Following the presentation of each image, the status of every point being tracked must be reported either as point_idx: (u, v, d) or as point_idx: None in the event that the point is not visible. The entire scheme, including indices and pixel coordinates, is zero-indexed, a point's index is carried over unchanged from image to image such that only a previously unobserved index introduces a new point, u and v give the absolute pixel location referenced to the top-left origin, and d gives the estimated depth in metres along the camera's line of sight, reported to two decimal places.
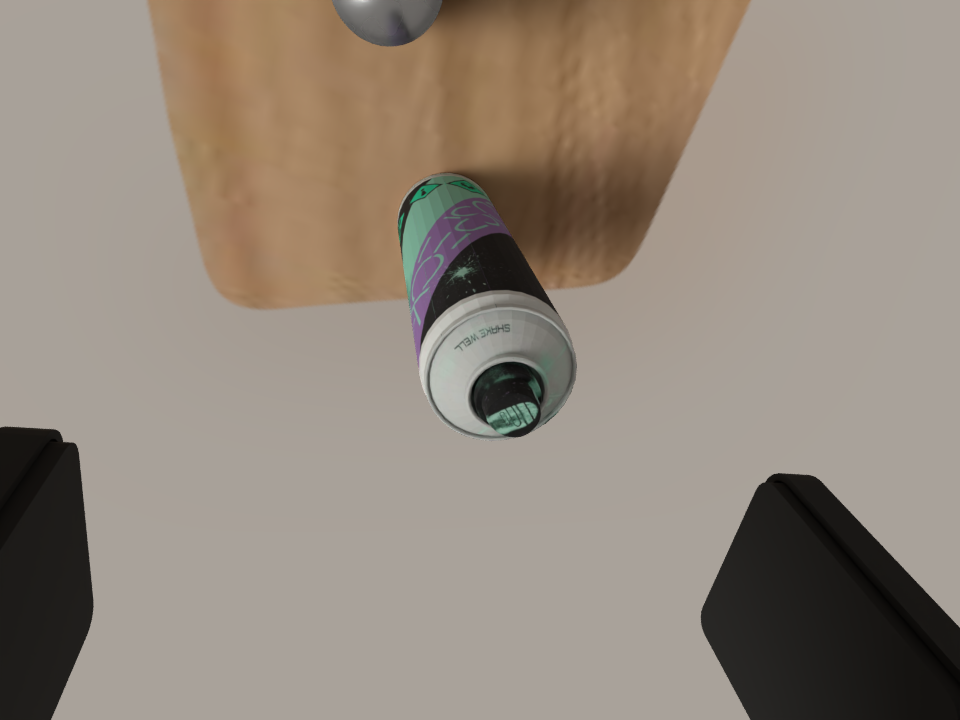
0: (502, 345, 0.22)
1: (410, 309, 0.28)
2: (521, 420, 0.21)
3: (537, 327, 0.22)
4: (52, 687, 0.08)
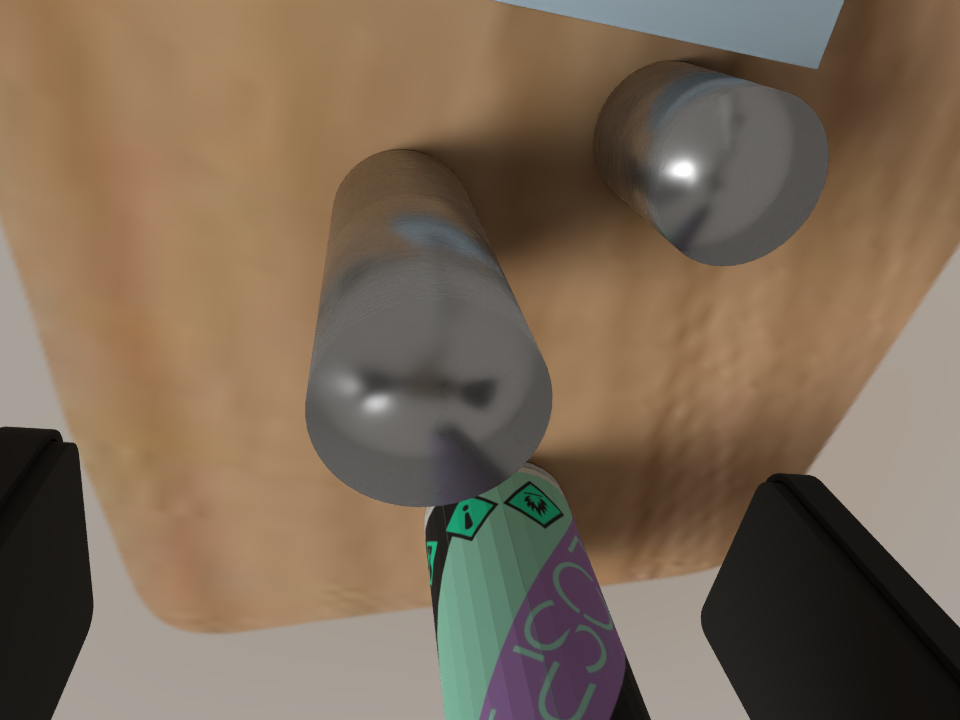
0: None
1: None
2: None
3: None
4: (52, 687, 0.08)
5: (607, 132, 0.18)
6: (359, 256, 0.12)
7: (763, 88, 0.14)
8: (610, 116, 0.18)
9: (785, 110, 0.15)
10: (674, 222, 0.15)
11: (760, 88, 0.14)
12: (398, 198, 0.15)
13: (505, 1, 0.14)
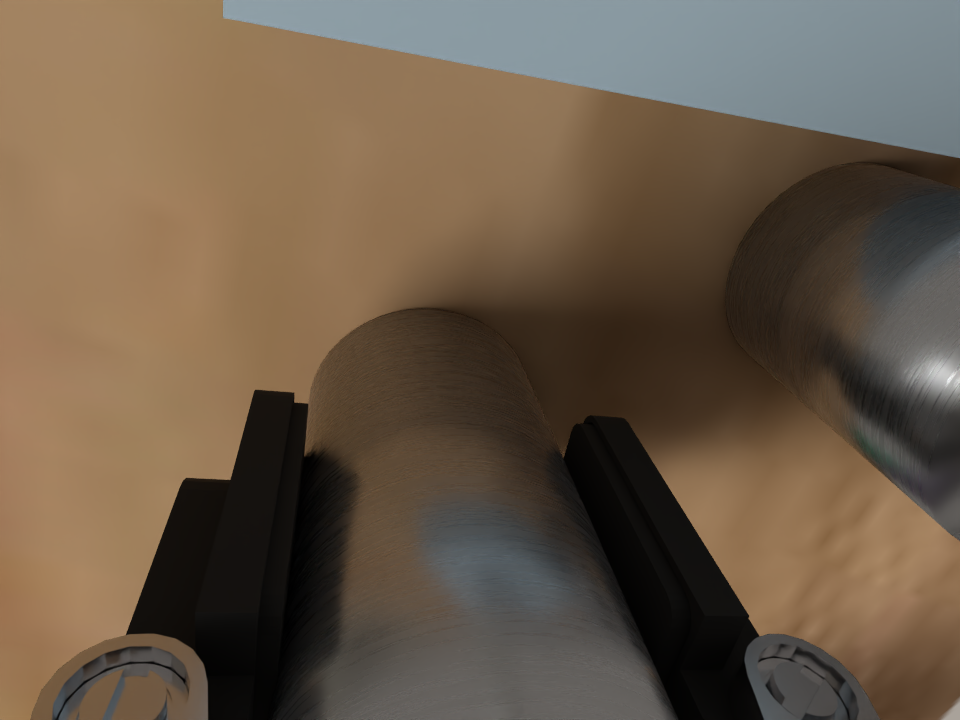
0: None
1: None
2: None
3: None
4: None
5: (765, 283, 0.11)
6: None
7: None
8: (768, 256, 0.11)
9: None
10: (953, 493, 0.08)
11: None
12: (427, 486, 0.07)
13: (637, 94, 0.07)
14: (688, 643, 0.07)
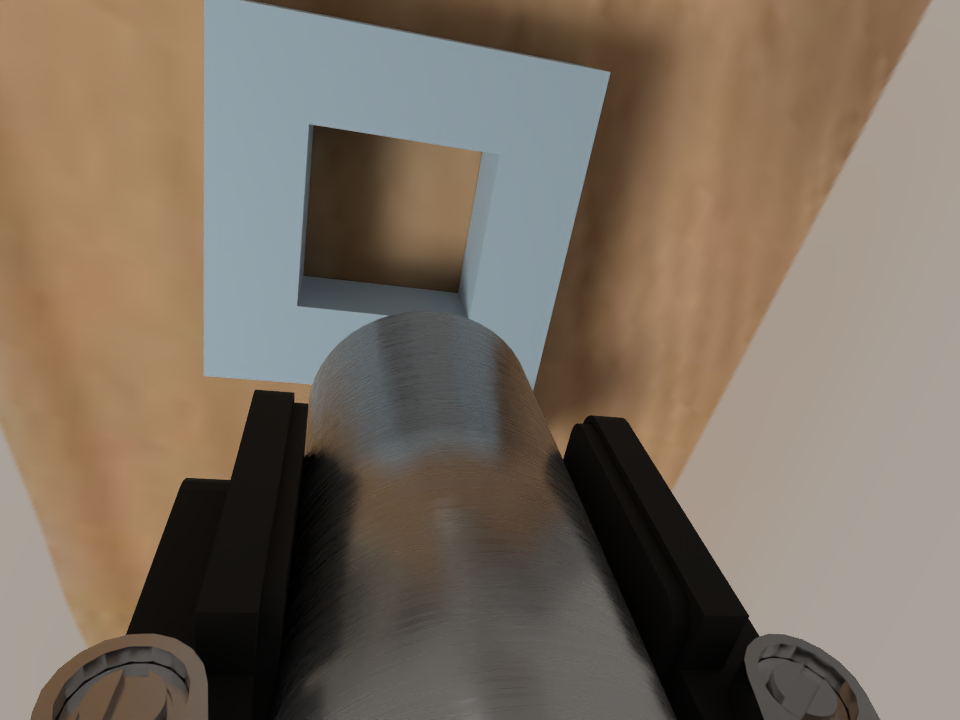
0: None
1: None
2: None
3: None
4: None
5: None
6: None
7: None
8: None
9: None
10: None
11: None
12: (427, 489, 0.07)
13: None
14: (688, 643, 0.07)
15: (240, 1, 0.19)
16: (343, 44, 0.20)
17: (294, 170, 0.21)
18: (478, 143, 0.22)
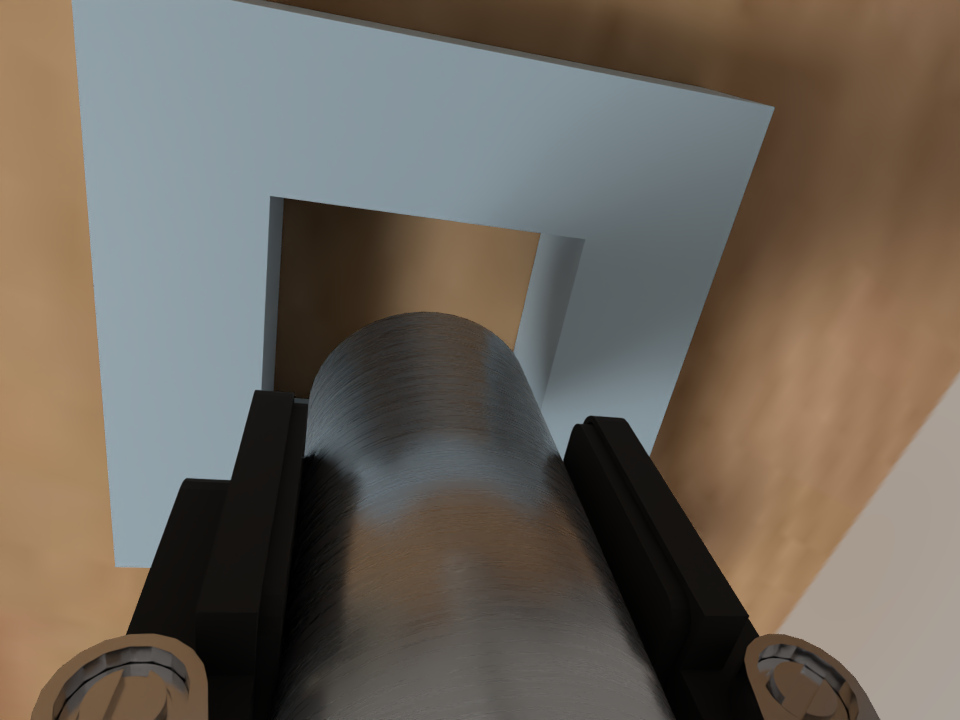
0: None
1: None
2: None
3: None
4: None
5: None
6: None
7: None
8: None
9: None
10: None
11: None
12: (428, 491, 0.07)
13: None
14: (688, 643, 0.07)
15: None
16: (327, 61, 0.11)
17: (247, 270, 0.13)
18: (551, 222, 0.13)
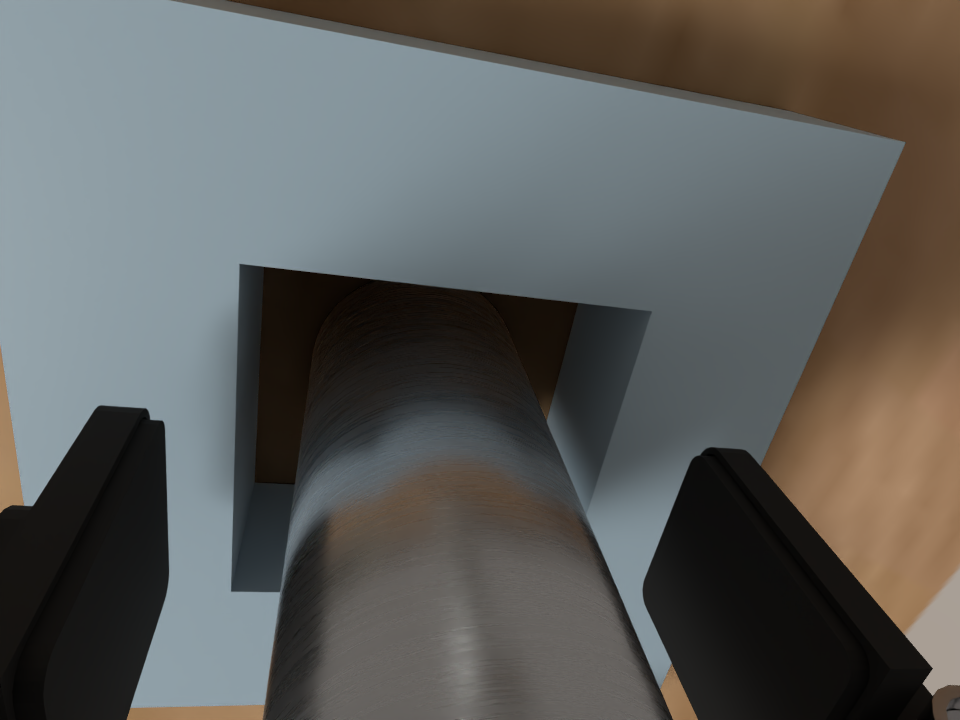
0: None
1: None
2: None
3: None
4: (142, 645, 0.08)
5: None
6: (345, 595, 0.06)
7: None
8: None
9: None
10: None
11: None
12: (414, 410, 0.09)
13: None
14: (866, 695, 0.07)
15: None
16: (314, 86, 0.08)
17: (211, 357, 0.10)
18: (609, 291, 0.10)
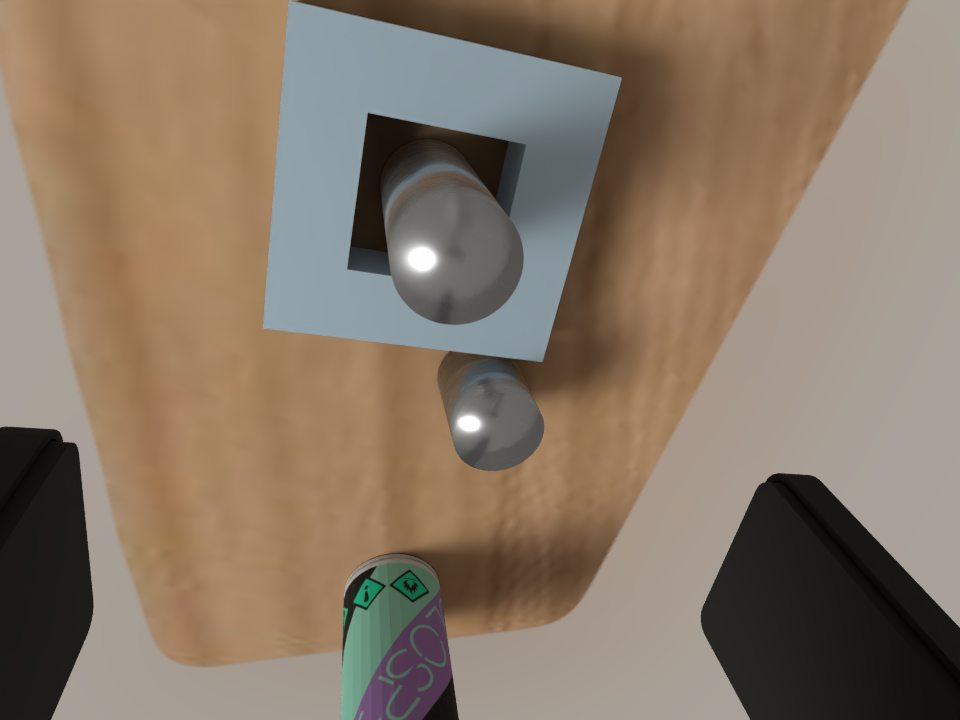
0: None
1: None
2: None
3: None
4: (52, 687, 0.08)
5: (447, 369, 0.32)
6: (414, 185, 0.22)
7: (519, 396, 0.28)
8: (451, 361, 0.32)
9: (527, 408, 0.29)
10: (460, 442, 0.29)
11: (517, 396, 0.28)
12: (432, 160, 0.24)
13: (368, 340, 0.28)
14: None
15: (318, 8, 0.23)
16: (400, 46, 0.23)
17: (352, 152, 0.25)
18: (508, 134, 0.25)
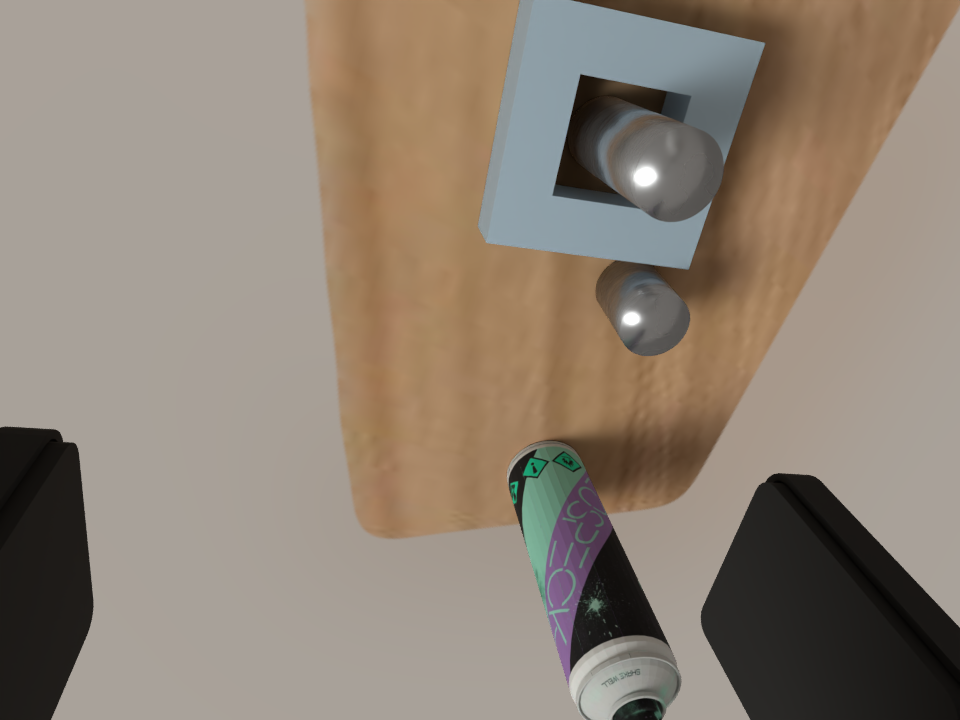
0: (635, 685, 0.32)
1: (545, 604, 0.38)
2: None
3: (657, 668, 0.32)
4: (52, 687, 0.08)
5: (612, 275, 0.40)
6: (637, 124, 0.30)
7: (678, 297, 0.37)
8: (615, 269, 0.40)
9: (681, 309, 0.38)
10: (625, 326, 0.38)
11: (678, 297, 0.37)
12: (634, 108, 0.32)
13: (561, 252, 0.37)
14: None
15: None
16: (608, 24, 0.32)
17: (566, 104, 0.34)
18: (679, 88, 0.34)
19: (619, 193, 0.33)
